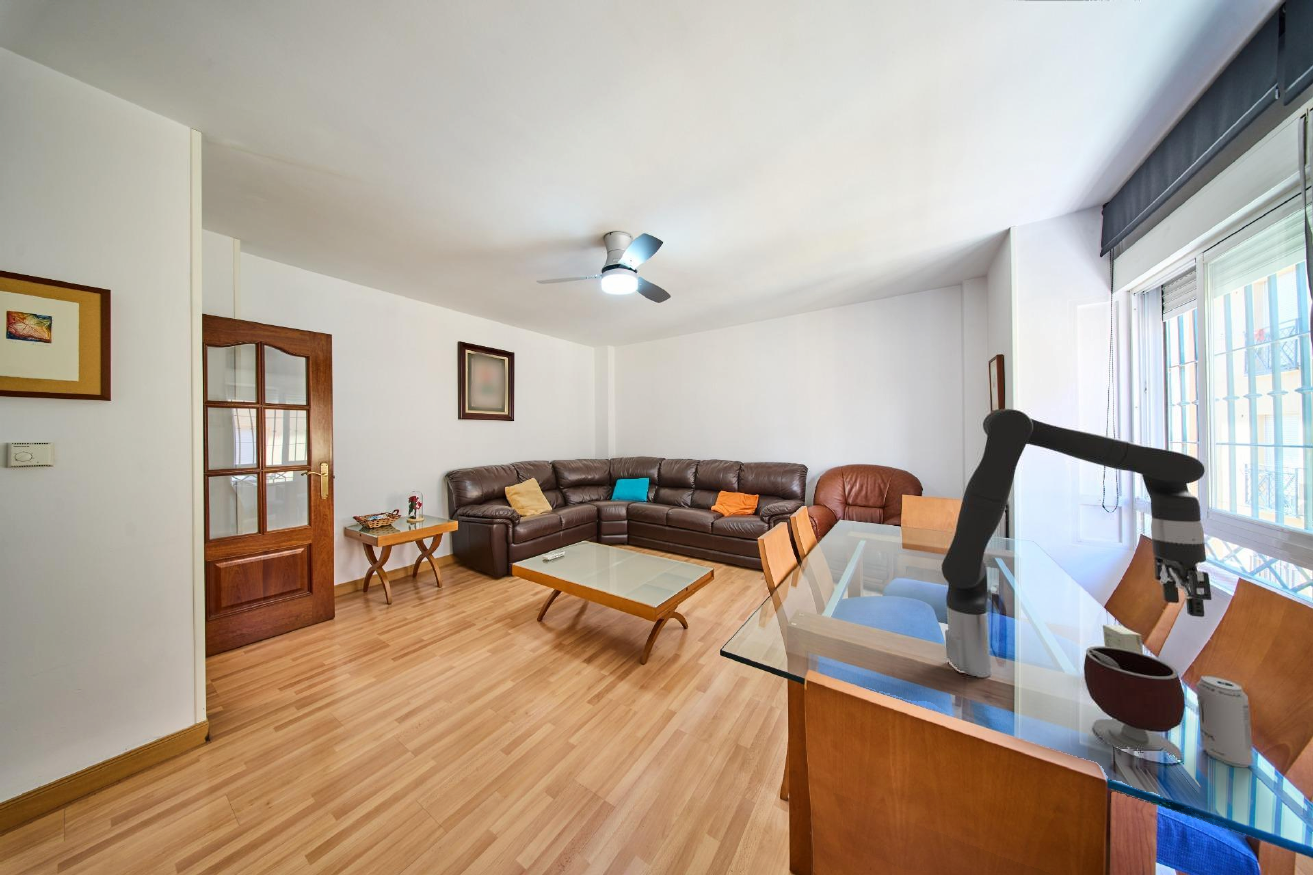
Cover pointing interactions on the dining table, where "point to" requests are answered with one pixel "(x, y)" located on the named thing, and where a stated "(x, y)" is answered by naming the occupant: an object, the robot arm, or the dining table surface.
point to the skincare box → (1122, 638)
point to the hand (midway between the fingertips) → (1183, 608)
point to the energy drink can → (1224, 721)
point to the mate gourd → (1134, 698)
